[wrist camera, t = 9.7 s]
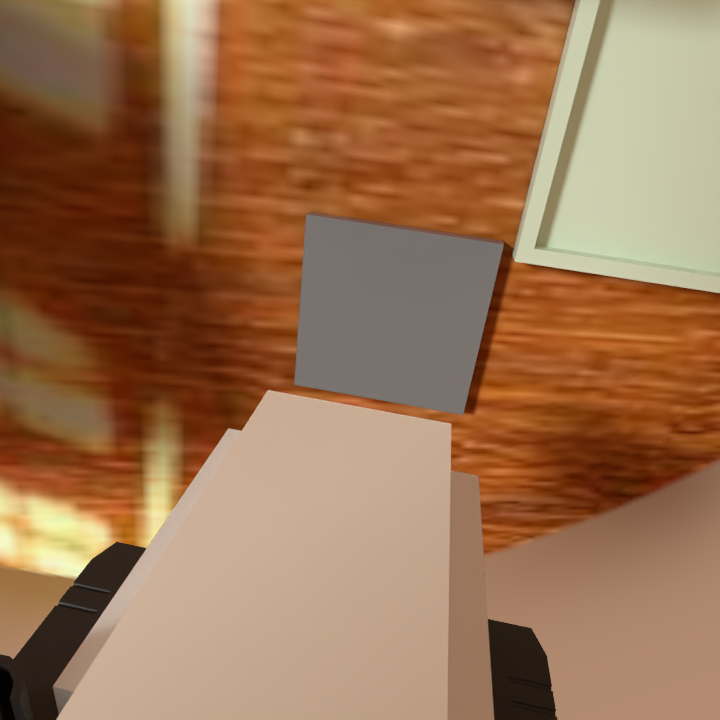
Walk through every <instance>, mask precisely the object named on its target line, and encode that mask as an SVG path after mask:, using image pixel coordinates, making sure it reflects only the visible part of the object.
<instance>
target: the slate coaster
mask: <svg viewBox="0 0 720 720" xmlns="http://www.w3.org/2000/svg"><path fill="white" fill-rule="evenodd" d="M503 246H504V243H503V241H501V240H494V239H487V238H481V237H474V236H468V235H461V234H454V233H448V232H441V231H435V230H428V229H421V228H415V227H408V226H402V225H395V224H389V223H382V222H375V221H369V220H362V219H356V218H349V217H342V216H336V215H329V214H323V213H316V212H309V213H307V214H306V226H305V240H304V254H303V269H302V283H301V297H300V311H299V325H298V339H297V353H296V367H295V381H294V385H299V386H305V387H310V388H316V389H321V390H327V391H332V392H338V393H344V394H349V395H355V396H360V397H366V398H372V399H377V400H383V401H388V402H394V403H399V404H405V405H411V406H416V407H422V408H427V409H433V410H438V411H444V412H450V413H455V414H461V415H463V414H464V410H465V405H466V401H467V397H468V393H469V389H470V384H471V380H472V376H473V372H474V368H475V364H476V359H477V355H478V351H479V347H480V343H481V338H482V334H483V330H484V326H485V322H486V318H487V313H488V309H489V305H490V301H491V297H492V292H493V288H494V284H495V280H496V276H497V272H498V267H499V263H500V259H501V255H502V251H503Z"/></svg>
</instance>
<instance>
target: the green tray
mask: <svg viewBox="0 0 720 720" xmlns="http://www.w3.org/2000/svg"><path fill="white" fill-rule="evenodd" d="M512 256H513V258H514V261H515V262H521V263H528V264H534V265H541V266H547V267H554V268H560V269H567V270H573V271H580V272H586V273H593V274H599V275H606V276H612V277H618V278H625V279H631V280H638V281H644V282H651V283H657V284H664V285H670V286H677V287H683V288H690V289H696V290H703V291H709V292H716V293H720V0H575V4H574V8H573V12H572V16H571V20H570V24H569V28H568V32H567V36H566V40H565V44H564V48H563V52H562V56H561V60H560V64H559V68H558V72H557V76H556V80H555V84H554V88H553V92H552V96H551V100H550V104H549V108H548V112H547V116H546V120H545V125H544V129H543V133H542V137H541V141H540V145H539V149H538V153H537V157H536V161H535V165H534V169H533V173H532V177H531V181H530V185H529V189H528V193H527V197H526V201H525V205H524V209H523V213H522V217H521V221H520V225H519V229H518V233H517V237H516V241H515V245H514V249H513V253H512Z"/></svg>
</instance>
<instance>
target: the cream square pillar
mask: <svg viewBox="0 0 720 720" xmlns="http://www.w3.org/2000/svg"><path fill="white" fill-rule="evenodd" d="M450 478H451V424H449V423H444V422H439V421H433V420H428V419H422V418H417V417H411V416H406V415H401V414H395V413H390V412H384V411H379V410H374V409H368V408H363V407H357V406H352V405H346V404H341V403H336V402H330V401H325V400H319V399H314V398H308V397H303V396H298V395H292V394H287V393H281V392H276V391H270V390H268V391H267V392H266V394H265V395H264V397H263V399H262V400H261V402H260V403H259V405H258V406H257V408H256V409H255V411H254V413H253V414H252V416H251V417H250V419H249V420H248V422H247V423H246V425H245V427H244V428H243V430H242V431H241V433H240V434H239V436H238V437H237V439H236V441H235V442H234V444H233V445H232V447H231V448H230V450H229V451H228V453H227V455H226V456H225V458H224V459H223V461H222V462H221V464H220V465H219V467H218V469H217V470H216V472H215V473H214V475H213V476H212V478H211V479H210V481H209V483H208V484H207V486H206V487H205V489H204V490H203V492H202V493H201V495H200V497H199V498H198V500H197V501H196V503H195V504H194V506H193V507H192V509H191V511H190V512H189V514H188V515H187V517H186V518H185V520H184V521H183V523H182V525H181V526H180V528H179V529H178V531H177V532H176V534H175V535H174V537H173V539H172V540H171V542H170V543H169V545H168V546H167V548H166V549H165V551H164V553H163V554H162V556H161V557H160V559H159V560H158V562H157V563H156V565H155V567H154V568H153V570H152V571H151V573H150V574H149V576H148V577H147V579H146V581H145V582H144V584H143V585H142V587H141V588H140V590H139V591H138V593H137V595H136V596H135V598H134V599H133V601H132V602H131V604H130V605H129V607H128V609H127V610H126V612H125V613H124V615H123V616H122V618H121V619H120V621H119V623H118V624H117V626H116V627H115V629H114V630H113V632H112V633H111V635H110V637H109V638H108V640H107V641H106V643H105V644H104V646H103V647H102V649H101V651H100V652H99V654H98V655H97V657H96V658H95V660H94V661H93V663H92V665H91V666H90V668H89V669H88V671H87V672H86V674H85V675H84V677H83V679H82V680H81V682H80V683H79V685H78V686H77V688H76V689H75V691H74V693H73V694H72V696H71V697H70V699H69V700H68V702H67V703H66V705H65V707H64V708H63V710H62V711H61V713H60V714H59V716H58V717H57V719H56V720H447V706H448V630H449V554H450Z"/></svg>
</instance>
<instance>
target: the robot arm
mask: <svg viewBox="0 0 720 720" xmlns="http://www.w3.org/2000/svg"><path fill="white" fill-rule="evenodd" d="M240 433H241V431H240V430H235V429H229V428H228V430H227V431H226V433H225V434H224V436H223V437H222V439H221V440H220V441H219V443H218V444H217V446H216V447H215V449H214V450H213V452H212V453H211V455H210V456H209V458H208V459H207V461H206V462H205V464H204V465H203V466H202V468H201V469H200V471H199V472H198V474H197V475H196V477H195V478H194V480H193V481H192V483H191V484H190V486H189V487H188V488H187V490H186V491H185V493H184V494H183V496H182V497H181V499H180V500H179V502H178V503H177V505H176V506H175V508H174V509H173V511H172V512H171V513H170V515H169V516H168V518H167V519H166V521H165V522H164V524H163V525H162V527H161V528H160V530H159V531H158V533H157V534H156V535H155V537H154V538H153V540H152V541H151V543H150V544H149V546H148V547H147V548H143V547H138V546H133V545H129V544H124V543H119V542H116V543H115V544H113V545H112V546H110V547H109V548H107V549H106V550H105V551H103V552H102V553H100V554H99V555H97V556H96V557H94V558H93V559H92V560H91V561H90V562H89V564H88V565H87V566H86V567H85V569H84V570H83V571H82V573H81V574H80V575H79V576H78V578H77V579H76V580H75V581H74V585H73V586H72V587H70V588H69V589H68V590H67V592H66V593H65V595H63V597H62V598H61V599H60V601H59V604H58V606H55V607H54V608H53V610H52V611H51V612H50V613H49V615H48V616H47V617H46V618H45V620H44V621H43V622H42V624H41V625H40V626H39V627H38V629H37V630H36V631H35V632H34V634H33V635H32V636H31V638H30V639H29V640H28V642H27V643H26V644H25V645H24V647H23V648H22V649H21V651H20V652H19V653H18V654H17V656H16V657H15V658H14V659H12V658H11V657H9V656H5V655H0V720H56V719H57V717H58V716H59V714H60V713H61V711H62V710H63V708H64V707H65V705H66V703H67V702H68V700H69V699H70V697H71V696H72V694H73V693H74V691H75V689H76V688H77V686H78V685H79V683H80V682H81V680H82V679H83V677H84V675H85V674H86V672H87V671H88V669H89V668H90V666H91V665H92V663H93V661H94V660H95V658H96V657H97V655H98V654H99V652H100V651H101V649H102V647H103V646H104V644H105V643H106V641H107V640H108V638H109V637H110V635H111V633H112V632H113V630H114V629H115V627H116V626H117V624H118V623H119V621H120V619H121V618H122V616H123V615H124V613H125V612H126V610H127V609H128V607H129V605H130V604H131V602H132V601H133V599H134V598H135V596H136V595H137V593H138V591H139V590H140V588H141V587H142V585H143V584H144V582H145V581H146V579H147V577H148V576H149V574H150V573H151V571H152V570H153V568H154V567H155V565H156V563H157V562H158V560H159V559H160V557H161V556H162V554H163V553H164V551H165V549H166V548H167V546H168V545H169V543H170V542H171V540H172V539H173V537H174V535H175V534H176V532H177V531H178V529H179V528H180V526H181V525H182V523H183V521H184V520H185V518H186V517H187V515H188V514H189V512H190V511H191V509H192V507H193V506H194V504H195V503H196V501H197V500H198V498H199V497H200V495H201V493H202V492H203V490H204V489H205V487H206V486H207V484H208V483H209V481H210V479H211V478H212V476H213V475H214V473H215V472H216V470H217V469H218V467H219V465H220V464H221V462H222V461H223V459H224V458H225V456H226V455H227V453H228V451H229V450H230V448H231V447H232V445H233V444H234V442H235V441H236V439H237V437H238V436H239V434H240ZM484 571H485V570H484V555H483V539H482V524H481V509H480V493H479V478H478V476H477V475H472V474H467V473H461V472H456V471H451V478H450V554H449V630H448V706H447V720H557V717H556V716H555V711H556V709H555V703H554V697H553V692H552V691H551V686H552V685H551V679H550V673H549V667H548V661H547V656H546V654H545V652H544V650H543V648H542V647H541V645H540V643H539V641H538V639H537V638H536V636H535V634H534V632H533V631H532V629H531V628H527V627H523V626H518V625H513V624H508V623H504V622H499V621H494V620H490V619H488V616H487V602H486V585H485V572H484Z"/></svg>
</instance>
